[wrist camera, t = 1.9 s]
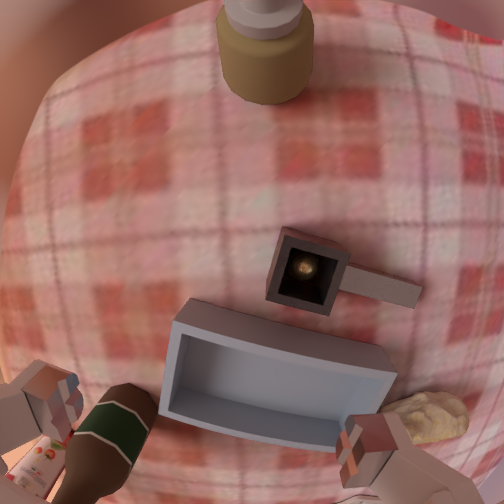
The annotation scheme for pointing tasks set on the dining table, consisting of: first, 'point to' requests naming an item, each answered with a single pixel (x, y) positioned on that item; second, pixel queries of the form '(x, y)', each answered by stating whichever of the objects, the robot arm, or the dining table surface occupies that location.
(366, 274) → the square brown scoop
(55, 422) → the robot arm
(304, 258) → the ball stud
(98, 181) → the dining table surface
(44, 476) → the liquor
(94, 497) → the beer bottle
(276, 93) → the squeeze bottle
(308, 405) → the bin
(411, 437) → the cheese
